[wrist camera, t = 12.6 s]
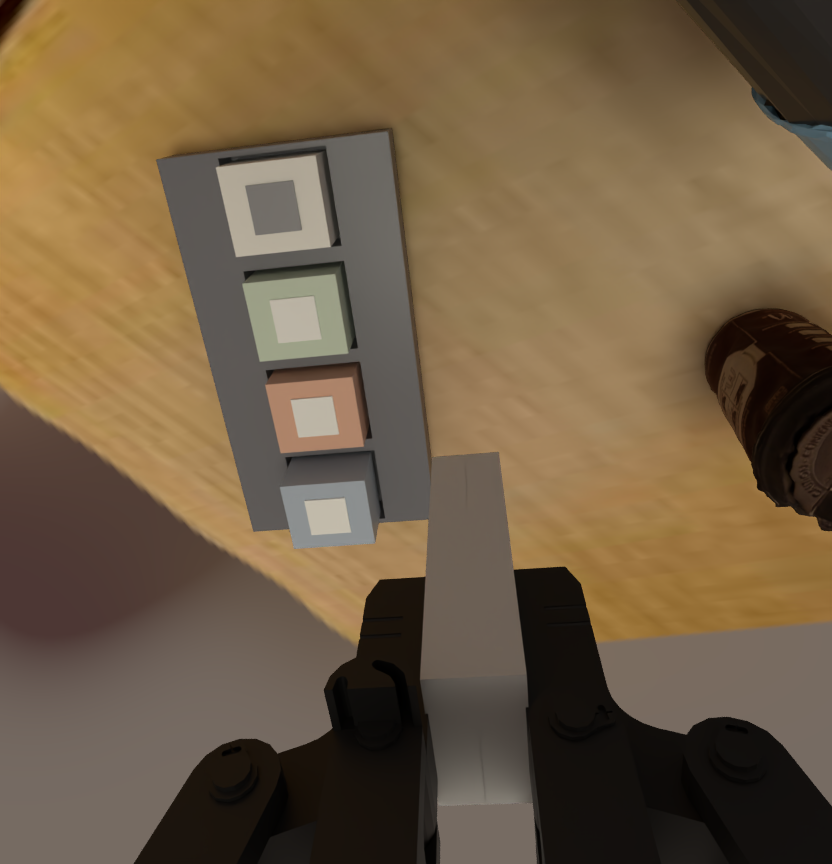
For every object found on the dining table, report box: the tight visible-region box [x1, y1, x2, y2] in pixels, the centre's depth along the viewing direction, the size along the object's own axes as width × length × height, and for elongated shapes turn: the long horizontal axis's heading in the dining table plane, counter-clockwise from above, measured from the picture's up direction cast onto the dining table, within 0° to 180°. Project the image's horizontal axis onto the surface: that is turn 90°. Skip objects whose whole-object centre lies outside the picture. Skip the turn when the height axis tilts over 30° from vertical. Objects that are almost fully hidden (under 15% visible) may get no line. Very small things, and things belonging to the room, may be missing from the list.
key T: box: [265, 362, 370, 453], centre depth 42 cm, size 4×5×4 cm
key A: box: [242, 261, 356, 362], centre depth 39 cm, size 4×5×4 cm
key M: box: [280, 451, 381, 549], centre depth 43 cm, size 4×5×4 cm
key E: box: [216, 149, 340, 257], centre depth 36 cm, size 4×5×4 cm
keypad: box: [156, 128, 432, 532], centre depth 41 cm, size 23×12×3 cm, turn 7°
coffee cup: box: [705, 309, 832, 531], centre depth 36 cm, size 9×8×13 cm
